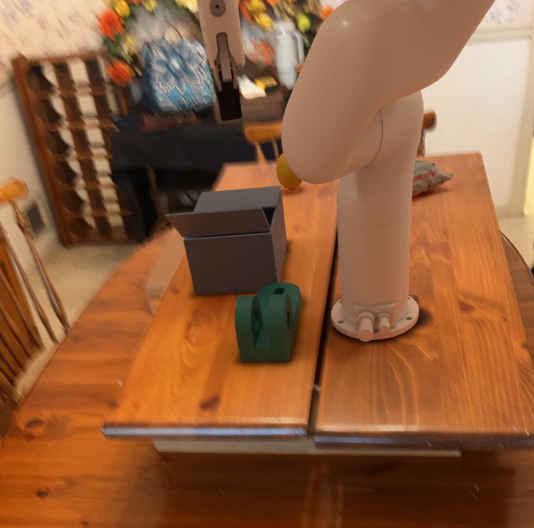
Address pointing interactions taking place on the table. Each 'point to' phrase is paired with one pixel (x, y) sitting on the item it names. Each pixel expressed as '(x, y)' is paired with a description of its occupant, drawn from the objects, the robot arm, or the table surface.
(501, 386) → the table surface
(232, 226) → the carton flap
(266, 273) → the carton
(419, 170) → the packaged food
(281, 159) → the lemon
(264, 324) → the bracket
